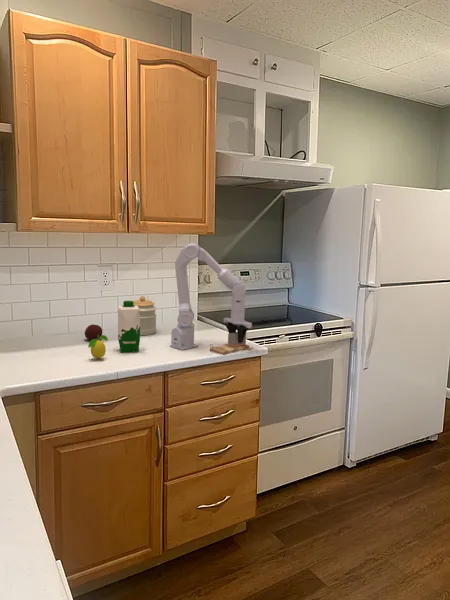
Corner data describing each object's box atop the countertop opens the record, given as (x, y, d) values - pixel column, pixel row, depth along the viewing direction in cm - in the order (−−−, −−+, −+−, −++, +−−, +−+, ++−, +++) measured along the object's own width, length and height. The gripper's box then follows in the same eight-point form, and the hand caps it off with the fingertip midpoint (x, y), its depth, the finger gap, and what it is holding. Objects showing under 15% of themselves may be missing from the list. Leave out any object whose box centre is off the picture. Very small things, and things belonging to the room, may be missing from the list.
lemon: (108, 356, 182) (108, 331, 181) (106, 361, 177) (106, 335, 175) (90, 357, 181) (90, 331, 180) (88, 361, 176) (87, 335, 174)
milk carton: (138, 347, 198) (138, 300, 195) (140, 352, 189) (140, 304, 186) (117, 348, 196) (117, 300, 192) (118, 353, 187) (118, 304, 184)
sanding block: (234, 346, 197) (235, 335, 197) (227, 344, 200) (228, 333, 199) (245, 344, 202) (246, 333, 202) (238, 342, 205) (239, 331, 204)
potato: (105, 340, 207) (105, 325, 206) (88, 343, 202) (88, 327, 201) (98, 337, 212) (98, 322, 211) (81, 339, 208) (81, 323, 207)
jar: (144, 337, 215) (144, 299, 212) (122, 333, 221) (122, 296, 219) (161, 332, 226) (162, 296, 223) (140, 328, 233) (140, 293, 230)
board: (223, 354, 190) (223, 351, 190) (210, 350, 195) (210, 348, 195) (249, 348, 201) (249, 345, 201) (235, 344, 207) (236, 341, 207)
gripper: (257, 311, 197) (255, 343, 199) (231, 306, 206) (230, 337, 209) (245, 313, 192) (244, 346, 194) (220, 308, 201) (219, 339, 204)
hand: (236, 341), depth 201 cm, fingers closed on sanding block, 4 cm apart
